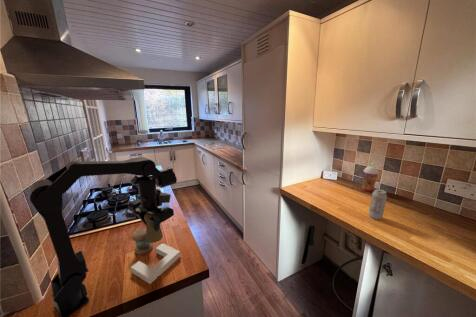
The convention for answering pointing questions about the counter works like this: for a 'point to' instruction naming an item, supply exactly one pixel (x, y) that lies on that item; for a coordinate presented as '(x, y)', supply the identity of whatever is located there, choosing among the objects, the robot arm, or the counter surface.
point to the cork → (151, 230)
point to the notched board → (152, 273)
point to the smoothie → (369, 178)
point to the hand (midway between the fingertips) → (153, 228)
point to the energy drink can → (377, 204)
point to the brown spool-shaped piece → (141, 242)
